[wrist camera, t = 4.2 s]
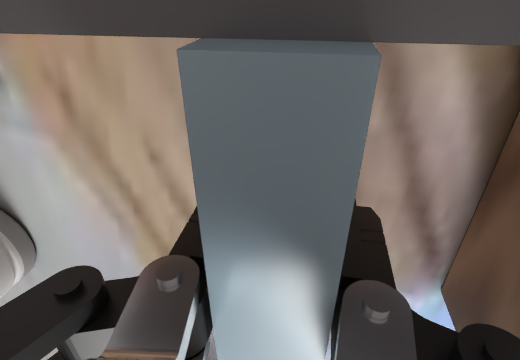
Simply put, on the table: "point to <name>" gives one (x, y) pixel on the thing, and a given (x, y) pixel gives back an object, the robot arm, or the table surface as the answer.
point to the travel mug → (14, 253)
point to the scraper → (275, 136)
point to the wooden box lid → (491, 252)
